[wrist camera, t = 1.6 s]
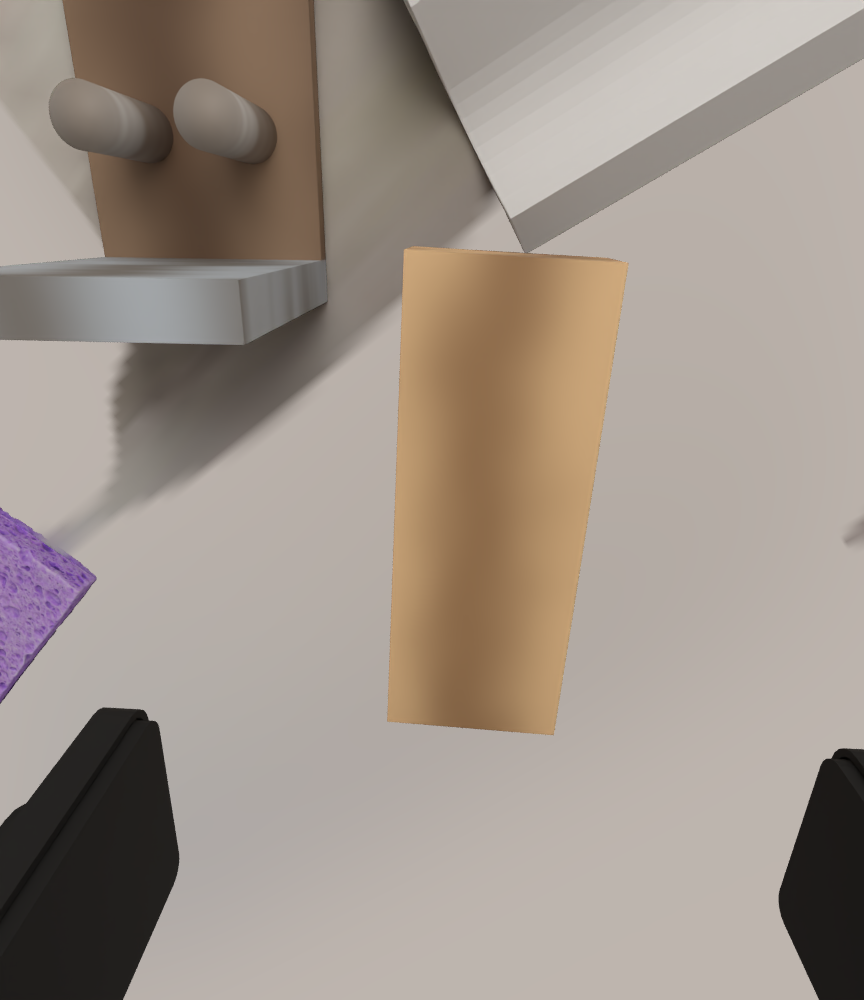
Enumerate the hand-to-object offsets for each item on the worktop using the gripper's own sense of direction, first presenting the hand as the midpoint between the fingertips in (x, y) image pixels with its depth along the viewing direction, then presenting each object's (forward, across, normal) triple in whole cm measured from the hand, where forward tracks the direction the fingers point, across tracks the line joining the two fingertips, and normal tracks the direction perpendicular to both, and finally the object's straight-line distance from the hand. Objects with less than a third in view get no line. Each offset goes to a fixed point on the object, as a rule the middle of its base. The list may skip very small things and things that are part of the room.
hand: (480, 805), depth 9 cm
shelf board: (+15, -1, +1) cm, 15 cm away
